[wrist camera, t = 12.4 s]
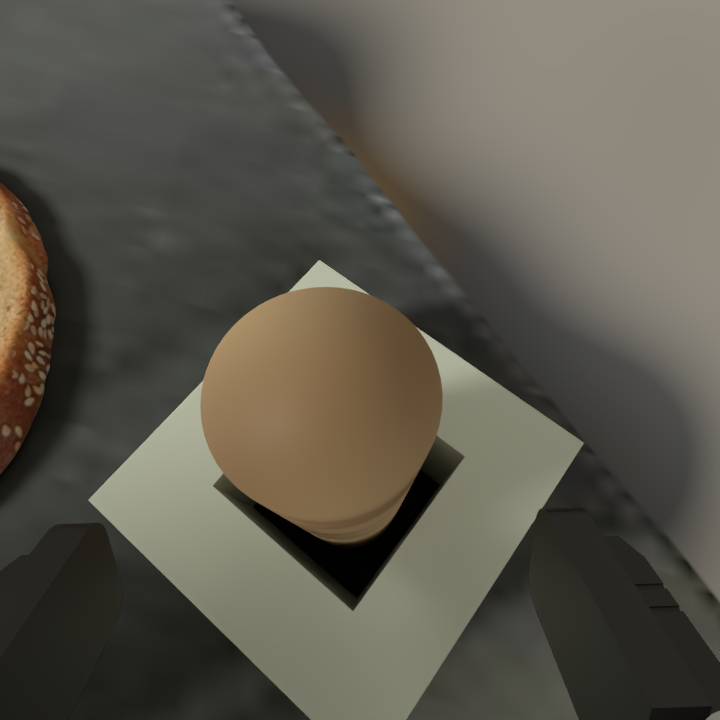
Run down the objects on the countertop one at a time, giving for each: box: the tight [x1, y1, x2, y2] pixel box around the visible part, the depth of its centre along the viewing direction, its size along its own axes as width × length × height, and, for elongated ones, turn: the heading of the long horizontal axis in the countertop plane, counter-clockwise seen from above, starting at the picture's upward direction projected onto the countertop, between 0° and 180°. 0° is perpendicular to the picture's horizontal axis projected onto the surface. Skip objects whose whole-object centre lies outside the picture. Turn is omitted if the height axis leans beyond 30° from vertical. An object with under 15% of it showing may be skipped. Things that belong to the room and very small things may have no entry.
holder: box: [88, 260, 584, 720], centre depth 19 cm, size 11×11×6 cm
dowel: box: [200, 287, 443, 549], centre depth 15 cm, size 4×4×14 cm
